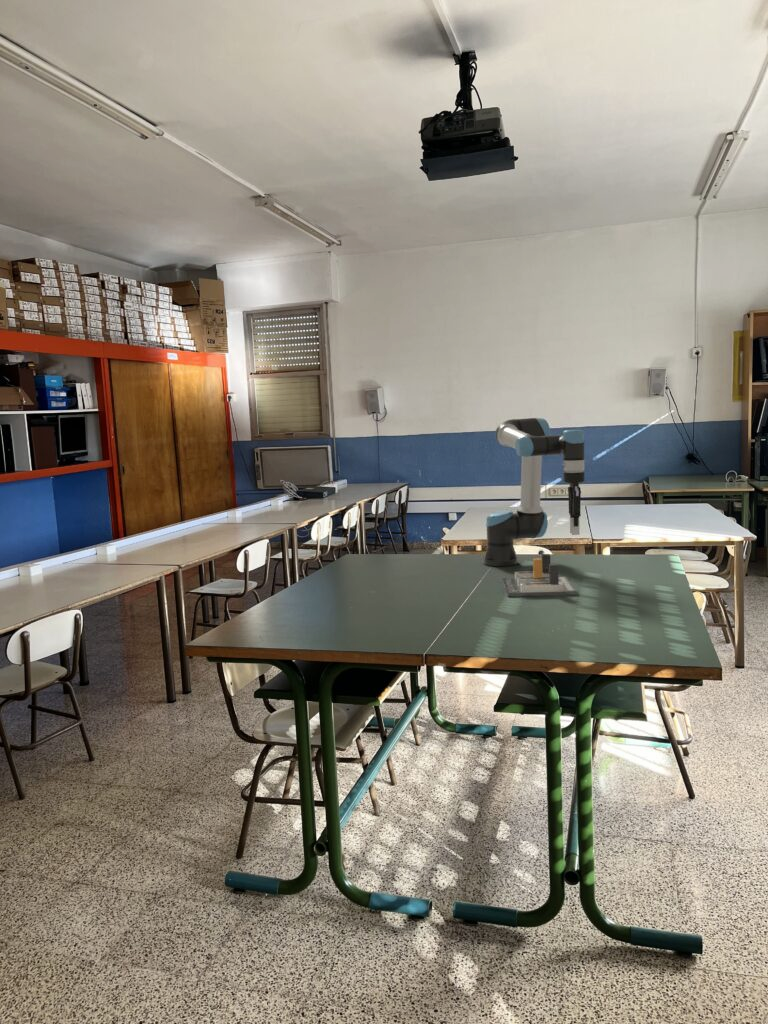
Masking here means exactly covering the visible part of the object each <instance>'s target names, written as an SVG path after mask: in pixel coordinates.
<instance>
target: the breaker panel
mask: <svg viewBox="0 0 768 1024" xmlns="http://www.w3.org/2000/svg"><path fill="white" fill-rule="evenodd" d="M541 559H542V578H534V576H533V570H532V571H514V577H513V578H511V577H508V578H507V577H506V578H505V577H504V578H502V581H501V583H502V585H503V588H504V590H505V593H506V595H507V597H508V598H519V597H522V598H525V597H553V596H554V597H555V596H557V597H559V596H560V597H561V596H564V597H565V596H578V590H577V588H576V587H575V586H574V585H573V584H572V582H571V581H570V579H568V577H567V576H559V564H558V563H551V554H550V553H546V554H545V553H543V554H541Z"/></svg>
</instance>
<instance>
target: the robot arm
mask: <svg viewBox="0 0 768 1024" xmlns="http://www.w3.org/2000/svg"><path fill="white" fill-rule="evenodd" d="M562 433H563V434H555V435H552V432H551V428H550V425H549V423H548V420H546V419H545V418H539V417H538V418H537V417H534V418H533V417H531V418H527V417H526V418H512V419H508V420H505V421H503V422H502V423H500V424H498V426H497V427H496V429H495V434H494V435H495V440H496V442H497V443H499V445H501V446H503V447H506V448H513V449H514V450H515V452H516V455H517V456H518V457H521V470H520V471H521V472H520V474H521V475H520V478H521V479H520V505H519V506H518V507H517V508H516V513H515V512H513V511H512V510H499V511H494V512H491V513H488V515H487V516H486V525H485V526H486V550H485V553H484V557H483V565H485V566H491V567H510V566H514V565H517V564H518V563H519V562H518V561H519V560H518V556H517V552H516V550H515V547H514V540H525V539H537V538H542V537H544V535H545V534H546V532H547V530H548V522H549V521H548V515H547V513H546V512H545V511H544V508H543V507H542V506H541V490H542V489H541V488H542V487H541V486H542V485H541V484H542V463H543V462H542V458H543V457H542V456H560V455H561V456H562V457H563V462H562V463H561V465H562V466H563V471H564V473H563V482H564V483H567V484H569V486H568V487H567V492H568V495H567V496H568V514H569V533H570V534H571V535H572V536H578V535H579V536H580V531H581V530H580V517H581V515H582V514H581V496H582V495H581V494H582V491H581V487H580V483H584V482H585V479H586V478H585V466H586V465H585V440H586V439H585V434H584V431H583V429H567V430H564V431H563V432H562Z"/></svg>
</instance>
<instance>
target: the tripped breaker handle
mask: <svg viewBox="0 0 768 1024" xmlns="http://www.w3.org/2000/svg"><path fill="white" fill-rule="evenodd" d="M532 561H533V562H532V563H533V565H532V571H533V576H534V578H542V557H541V558H539V557H537V558H533V559H532Z"/></svg>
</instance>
